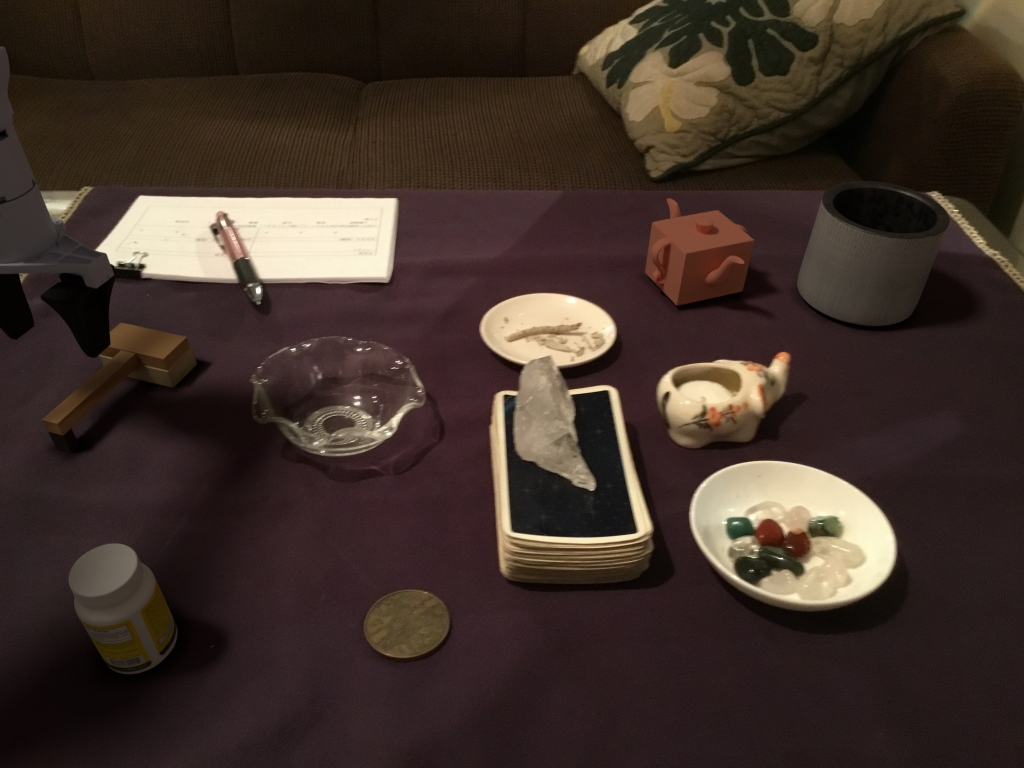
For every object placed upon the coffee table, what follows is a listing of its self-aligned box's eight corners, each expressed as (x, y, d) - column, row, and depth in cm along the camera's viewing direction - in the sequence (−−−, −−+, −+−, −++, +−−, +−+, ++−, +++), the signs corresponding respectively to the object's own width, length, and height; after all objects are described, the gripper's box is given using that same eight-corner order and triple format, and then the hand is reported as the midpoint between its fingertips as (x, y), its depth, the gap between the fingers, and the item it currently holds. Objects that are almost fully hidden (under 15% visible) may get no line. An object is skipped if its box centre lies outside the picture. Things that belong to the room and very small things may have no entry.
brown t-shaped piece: (27, 440, 68) (12, 411, 66) (131, 349, 78) (120, 321, 76) (100, 460, 67) (87, 431, 65) (197, 364, 77) (188, 336, 75)
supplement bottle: (158, 602, 56) (124, 525, 51) (191, 644, 54) (159, 567, 48) (91, 644, 53) (47, 568, 48) (123, 690, 51) (81, 616, 46)
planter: (876, 346, 81) (913, 251, 74) (772, 294, 88) (797, 203, 81) (934, 302, 87) (974, 211, 80) (833, 256, 94) (861, 169, 87)
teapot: (680, 334, 82) (693, 265, 76) (614, 262, 92) (622, 197, 87) (775, 312, 85) (794, 244, 80) (702, 245, 96) (714, 181, 91)
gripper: (115, 179, 57) (166, 330, 66) (-45, 152, 60) (24, 298, 69) (44, 225, 52) (109, 381, 61) (-127, 192, 55) (-41, 345, 64)
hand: (60, 341), depth 65 cm, fingers open, 7 cm apart
